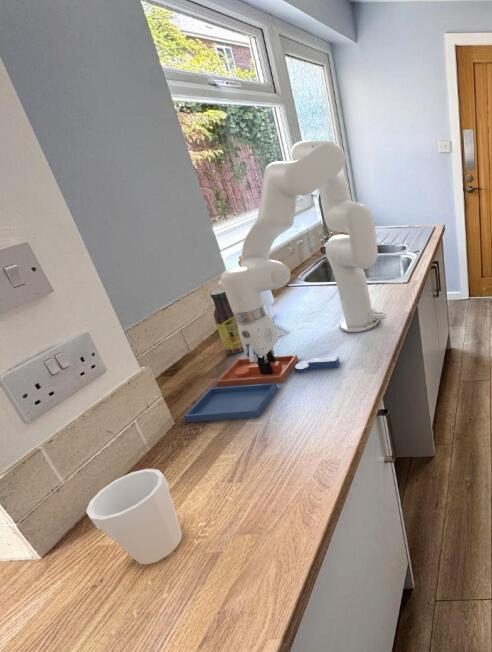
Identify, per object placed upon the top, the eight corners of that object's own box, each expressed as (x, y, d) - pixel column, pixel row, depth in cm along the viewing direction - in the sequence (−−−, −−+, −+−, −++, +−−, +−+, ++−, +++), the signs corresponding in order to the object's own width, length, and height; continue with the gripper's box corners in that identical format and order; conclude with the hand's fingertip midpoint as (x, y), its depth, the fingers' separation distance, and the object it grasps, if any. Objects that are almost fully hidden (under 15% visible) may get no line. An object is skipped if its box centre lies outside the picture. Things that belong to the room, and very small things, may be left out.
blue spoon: (341, 361, 119) (339, 354, 118) (336, 370, 115) (334, 362, 114) (299, 364, 119) (297, 357, 118) (293, 373, 115) (291, 366, 114)
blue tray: (278, 388, 108) (276, 382, 108) (258, 417, 98) (256, 410, 97) (213, 393, 108) (210, 387, 107) (186, 422, 98) (183, 416, 97)
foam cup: (150, 523, 73) (118, 471, 67) (203, 518, 73) (176, 465, 68) (109, 577, 64) (69, 523, 59) (170, 571, 65) (135, 516, 59)
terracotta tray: (298, 360, 121) (296, 354, 120) (282, 382, 111) (280, 376, 110) (240, 364, 120) (237, 358, 120) (218, 387, 110) (216, 381, 109)
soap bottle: (247, 327, 142) (224, 263, 132) (248, 316, 151) (226, 255, 140) (279, 320, 146) (259, 257, 136) (278, 309, 155) (259, 249, 144)
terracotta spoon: (283, 366, 118) (281, 359, 117) (277, 375, 114) (275, 367, 113) (241, 369, 117) (238, 362, 116) (233, 378, 113) (230, 371, 112)
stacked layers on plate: (256, 346, 130) (251, 331, 128) (243, 338, 135) (238, 324, 133) (286, 333, 137) (281, 318, 135) (273, 326, 142) (269, 312, 140)
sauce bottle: (238, 355, 125) (216, 297, 117) (221, 354, 126) (198, 296, 118) (253, 344, 131) (234, 288, 123) (237, 343, 132) (216, 287, 124)
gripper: (249, 326, 100) (270, 386, 108) (277, 300, 115) (294, 355, 123) (219, 328, 100) (242, 388, 108) (250, 301, 115) (269, 356, 122)
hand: (269, 370), depth 115 cm, fingers closed on terracotta spoon, 2 cm apart
